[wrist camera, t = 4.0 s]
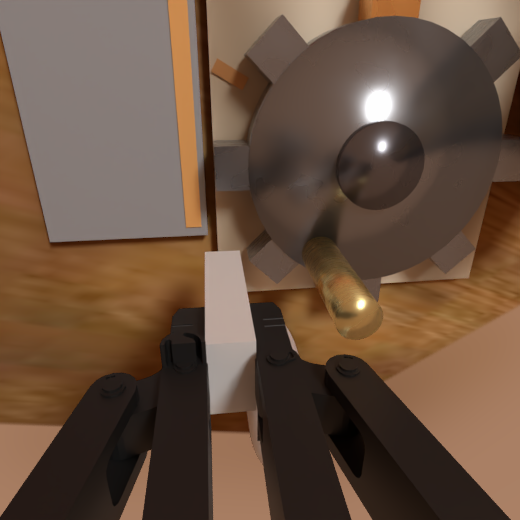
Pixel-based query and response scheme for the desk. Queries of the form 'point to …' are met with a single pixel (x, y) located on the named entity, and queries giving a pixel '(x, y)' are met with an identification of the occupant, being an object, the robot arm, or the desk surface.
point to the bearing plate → (253, 83)
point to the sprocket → (371, 150)
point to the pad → (110, 114)
